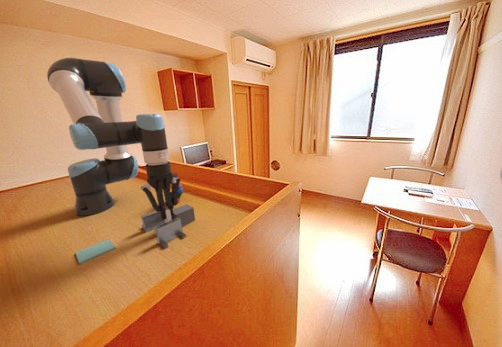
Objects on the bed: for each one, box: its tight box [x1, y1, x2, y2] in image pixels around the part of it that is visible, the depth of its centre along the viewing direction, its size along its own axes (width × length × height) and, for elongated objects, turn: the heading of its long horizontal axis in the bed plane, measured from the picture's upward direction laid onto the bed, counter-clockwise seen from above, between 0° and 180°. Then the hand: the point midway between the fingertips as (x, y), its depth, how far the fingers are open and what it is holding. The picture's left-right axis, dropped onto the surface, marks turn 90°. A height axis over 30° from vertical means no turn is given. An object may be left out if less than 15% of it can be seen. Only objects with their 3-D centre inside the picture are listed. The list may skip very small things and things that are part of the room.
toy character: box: [170, 172, 184, 204], centre depth 92 cm, size 12×5×15 cm, turn 53°
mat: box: [75, 238, 116, 265], centre depth 62 cm, size 7×9×1 cm
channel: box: [140, 210, 188, 249], centre depth 70 cm, size 19×8×6 cm, turn 48°
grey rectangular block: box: [171, 203, 196, 228], centre depth 75 cm, size 5×7×6 cm
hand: (169, 225), depth 72 cm, fingers closed
